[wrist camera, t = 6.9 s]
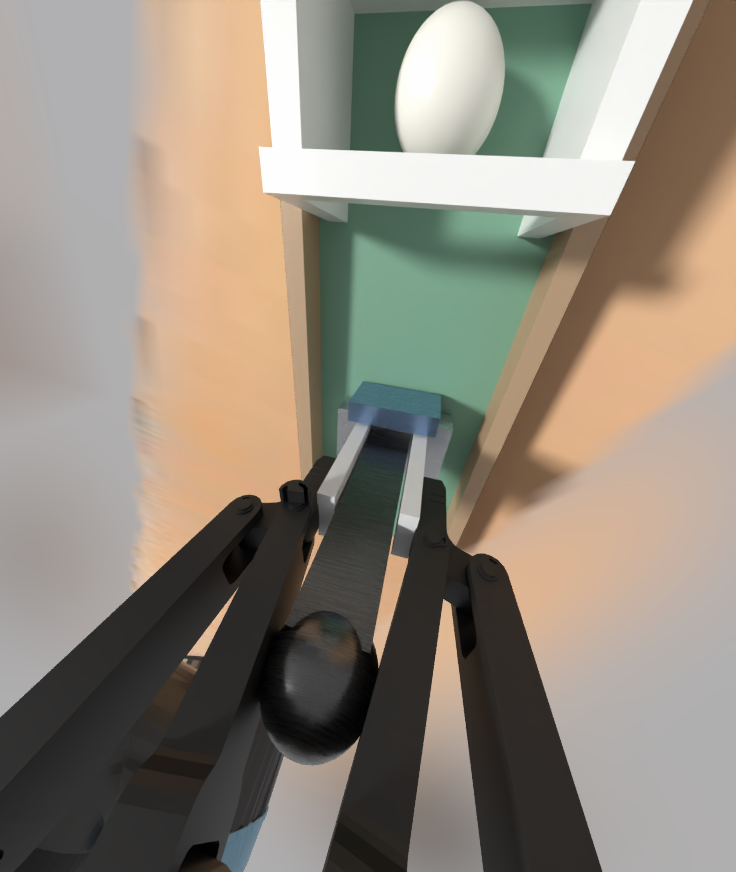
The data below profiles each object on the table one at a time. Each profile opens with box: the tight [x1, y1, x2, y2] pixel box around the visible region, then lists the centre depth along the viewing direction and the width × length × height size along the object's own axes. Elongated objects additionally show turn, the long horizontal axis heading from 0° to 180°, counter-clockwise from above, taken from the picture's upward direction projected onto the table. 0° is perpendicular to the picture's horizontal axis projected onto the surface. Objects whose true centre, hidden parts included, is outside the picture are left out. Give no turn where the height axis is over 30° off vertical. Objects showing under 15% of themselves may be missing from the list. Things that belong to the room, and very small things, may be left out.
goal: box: [259, 0, 693, 238], centre depth 8 cm, size 7×10×6 cm
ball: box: [394, 1, 505, 155], centre depth 9 cm, size 4×4×4 cm
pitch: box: [280, 0, 710, 546], centre depth 16 cm, size 30×13×3 cm, turn 175°
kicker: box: [259, 381, 453, 765], centre depth 12 cm, size 5×7×15 cm
